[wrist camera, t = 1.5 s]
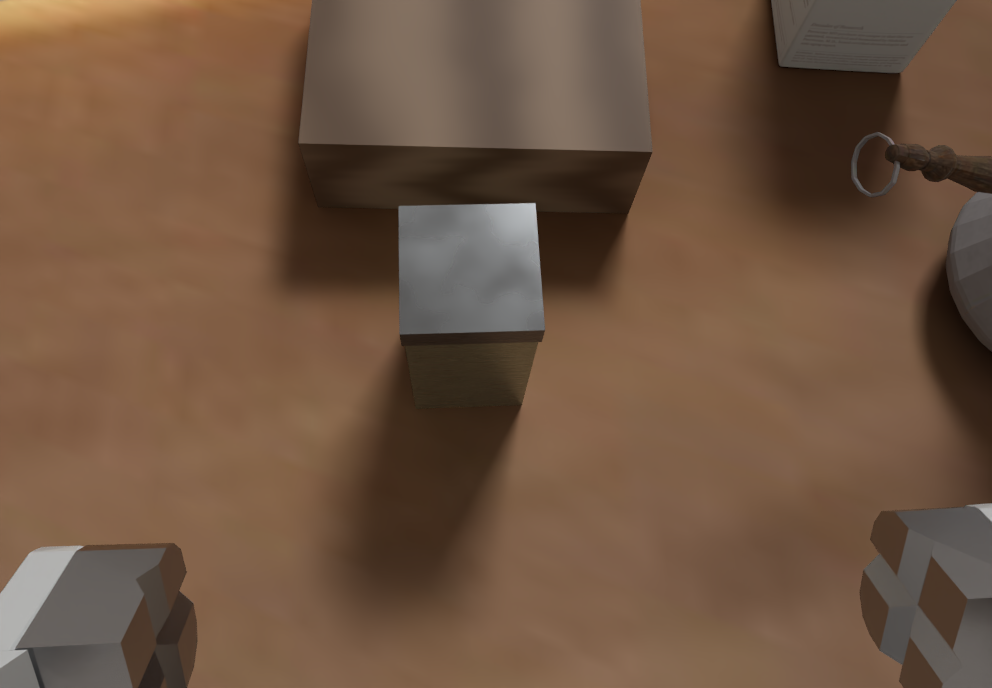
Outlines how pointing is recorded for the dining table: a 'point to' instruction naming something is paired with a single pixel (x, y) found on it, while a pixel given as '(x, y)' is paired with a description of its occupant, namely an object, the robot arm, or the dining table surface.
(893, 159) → the coffee pot
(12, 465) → the dining table surface
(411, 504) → the dining table surface
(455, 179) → the walnut box
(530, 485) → the dining table surface
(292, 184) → the dining table surface
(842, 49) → the supplement box
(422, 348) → the sage tea tin
